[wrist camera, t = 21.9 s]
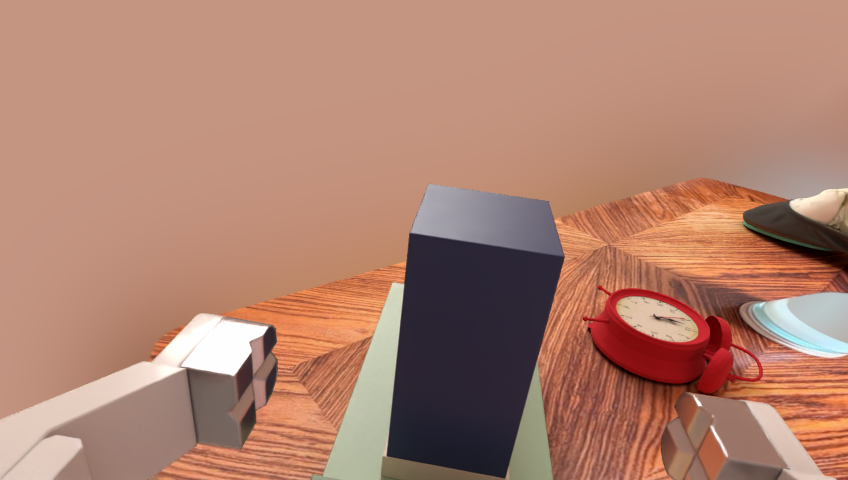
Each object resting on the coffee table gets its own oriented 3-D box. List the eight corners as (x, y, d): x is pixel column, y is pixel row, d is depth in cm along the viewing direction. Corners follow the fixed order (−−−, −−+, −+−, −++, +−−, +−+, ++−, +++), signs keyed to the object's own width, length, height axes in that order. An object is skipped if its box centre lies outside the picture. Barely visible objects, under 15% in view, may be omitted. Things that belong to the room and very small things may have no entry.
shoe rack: (537, 642, 24) (577, 544, 21) (305, 595, 25) (305, 492, 21) (516, 358, 44) (535, 283, 40) (387, 337, 45) (394, 262, 41)
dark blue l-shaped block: (504, 500, 24) (570, 257, 18) (380, 476, 25) (404, 232, 19) (500, 319, 39) (536, 149, 33) (421, 306, 39) (443, 136, 33)
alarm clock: (598, 273, 52) (765, 293, 45) (596, 324, 55) (756, 351, 47) (576, 319, 44) (778, 352, 37) (575, 376, 46) (765, 418, 39)
